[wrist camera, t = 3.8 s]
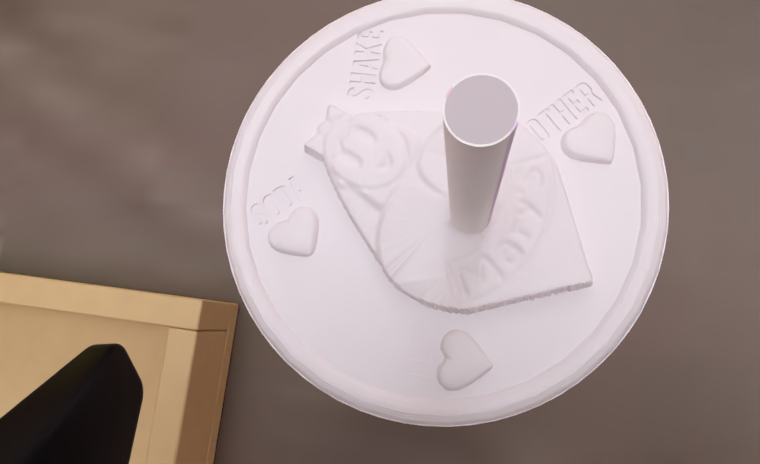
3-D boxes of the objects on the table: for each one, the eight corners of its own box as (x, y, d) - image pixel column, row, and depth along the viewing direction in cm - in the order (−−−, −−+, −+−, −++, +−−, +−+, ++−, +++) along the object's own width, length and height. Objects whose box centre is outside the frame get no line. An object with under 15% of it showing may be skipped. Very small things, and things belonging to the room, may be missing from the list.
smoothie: (489, 423, 18) (592, 756, 4) (298, 302, 19) (-142, 226, 5) (603, 225, 18) (1067, -108, 4) (410, 119, 19) (286, -409, 5)
